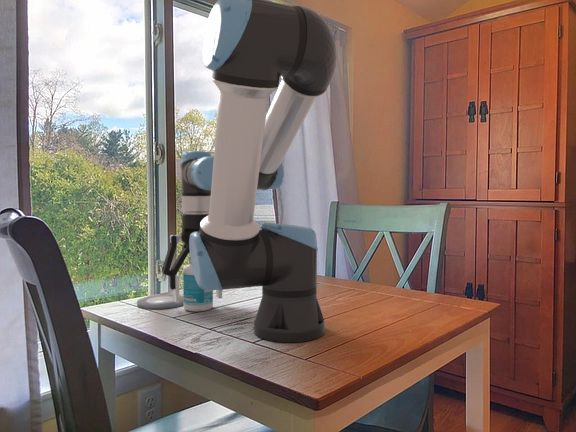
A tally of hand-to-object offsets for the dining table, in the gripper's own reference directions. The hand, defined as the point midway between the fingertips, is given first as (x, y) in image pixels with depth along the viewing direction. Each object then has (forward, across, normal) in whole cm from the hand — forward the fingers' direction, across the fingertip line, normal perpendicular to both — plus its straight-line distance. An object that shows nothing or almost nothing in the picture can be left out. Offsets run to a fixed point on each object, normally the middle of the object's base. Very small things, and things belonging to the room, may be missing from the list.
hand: (198, 299), depth 122 cm
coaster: (+2, +7, -10) cm, 12 cm away
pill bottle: (+3, 0, 0) cm, 3 cm away
